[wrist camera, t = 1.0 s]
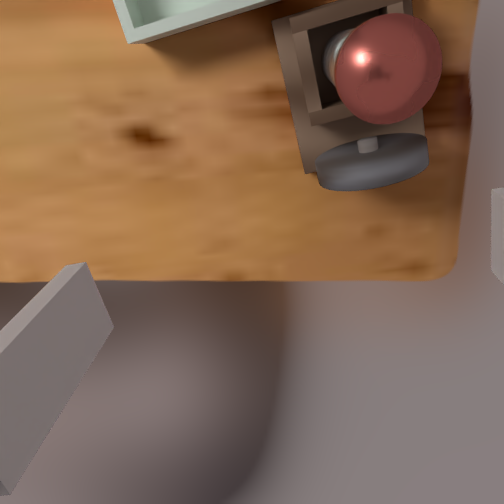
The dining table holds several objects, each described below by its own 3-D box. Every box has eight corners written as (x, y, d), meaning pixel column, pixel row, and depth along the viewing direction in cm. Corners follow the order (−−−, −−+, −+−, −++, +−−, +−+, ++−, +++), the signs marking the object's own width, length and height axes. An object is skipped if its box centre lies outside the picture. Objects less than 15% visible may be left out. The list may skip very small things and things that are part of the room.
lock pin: (311, 35, 33) (327, 31, 19) (374, 16, 32) (437, -2, 18) (323, 97, 34) (345, 135, 21) (382, 82, 34) (446, 110, 20)
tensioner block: (271, 21, 34) (265, 15, 25) (404, -19, 32) (446, -41, 23) (306, 175, 39) (310, 213, 30) (421, 148, 37) (461, 180, 28)
